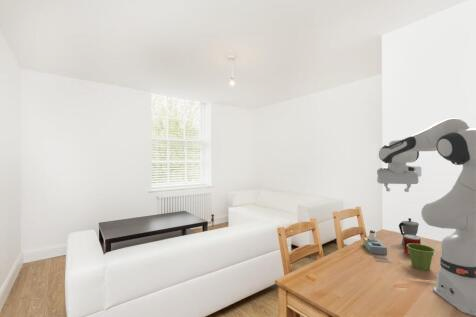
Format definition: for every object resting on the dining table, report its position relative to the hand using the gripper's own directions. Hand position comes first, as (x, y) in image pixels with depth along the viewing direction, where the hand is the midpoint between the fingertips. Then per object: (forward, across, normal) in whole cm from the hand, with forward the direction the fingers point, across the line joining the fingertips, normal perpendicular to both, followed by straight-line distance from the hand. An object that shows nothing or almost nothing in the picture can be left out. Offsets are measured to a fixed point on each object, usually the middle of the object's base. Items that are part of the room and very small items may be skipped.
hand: (397, 191), depth 134 cm
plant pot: (+39, +6, -12) cm, 41 cm away
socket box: (+39, -10, +9) cm, 41 cm away
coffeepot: (+39, +15, +24) cm, 48 cm away
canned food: (+39, +10, +7) cm, 41 cm away
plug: (+38, -10, +13) cm, 41 cm away
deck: (+39, -11, -6) cm, 41 cm away
